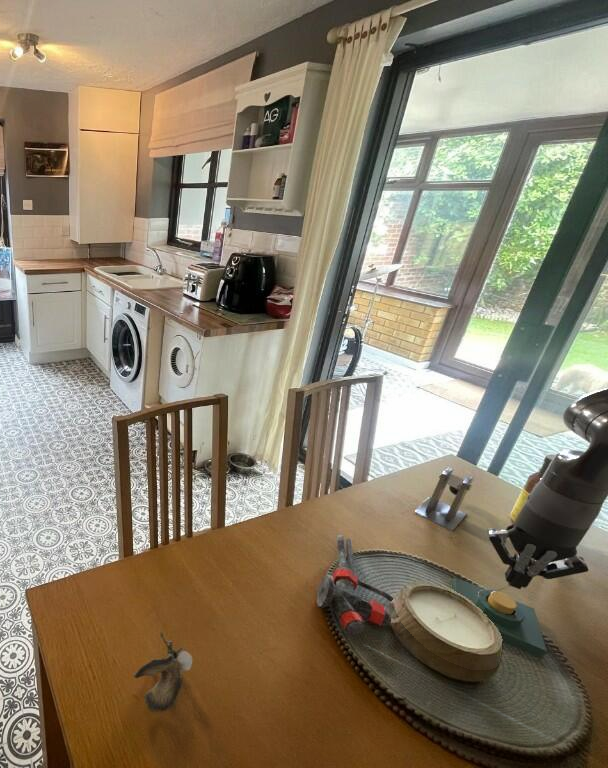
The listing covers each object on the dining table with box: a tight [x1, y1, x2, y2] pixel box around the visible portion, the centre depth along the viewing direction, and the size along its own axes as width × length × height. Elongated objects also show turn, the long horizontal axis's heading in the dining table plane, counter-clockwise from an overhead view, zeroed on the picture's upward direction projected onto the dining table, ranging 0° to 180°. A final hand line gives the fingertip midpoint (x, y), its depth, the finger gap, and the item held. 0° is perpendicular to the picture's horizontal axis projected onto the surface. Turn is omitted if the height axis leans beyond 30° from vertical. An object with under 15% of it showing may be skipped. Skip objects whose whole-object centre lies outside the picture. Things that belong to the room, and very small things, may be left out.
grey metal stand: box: [413, 467, 475, 532], centre depth 101 cm, size 10×8×13 cm
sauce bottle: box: [509, 454, 556, 524], centre depth 97 cm, size 7×6×20 cm
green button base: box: [451, 577, 547, 659], centre depth 78 cm, size 12×10×4 cm
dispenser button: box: [488, 590, 517, 615], centre depth 77 cm, size 4×4×2 cm
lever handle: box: [447, 473, 464, 496], centre depth 103 cm, size 14×4×4 cm
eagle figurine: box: [133, 631, 194, 712], centre depth 67 cm, size 8×7×9 cm
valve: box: [316, 534, 395, 635], centre depth 83 cm, size 6×26×15 cm
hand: (513, 584), depth 75 cm, fingers closed
